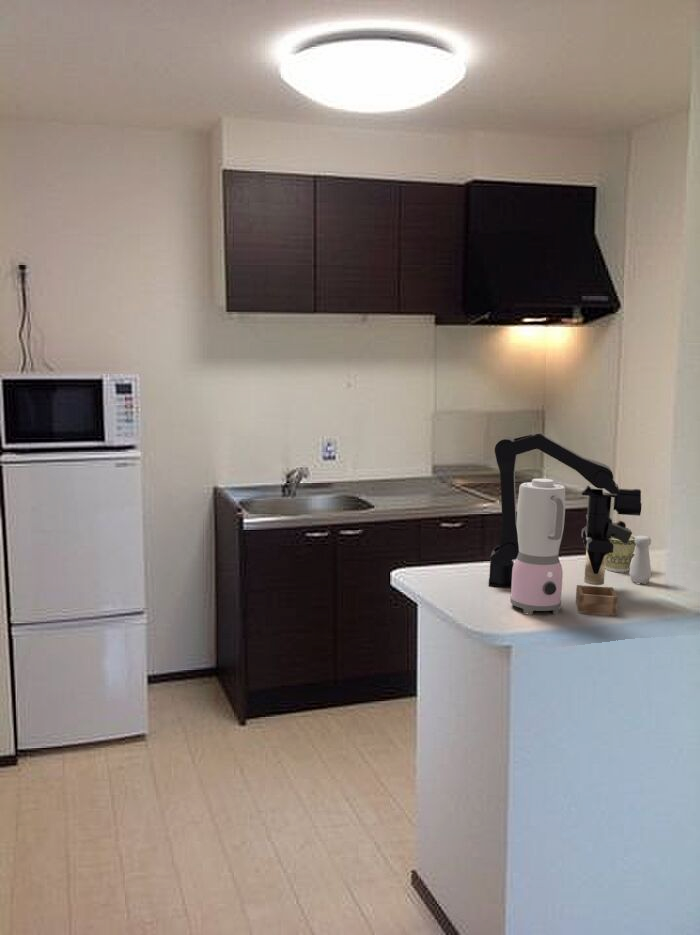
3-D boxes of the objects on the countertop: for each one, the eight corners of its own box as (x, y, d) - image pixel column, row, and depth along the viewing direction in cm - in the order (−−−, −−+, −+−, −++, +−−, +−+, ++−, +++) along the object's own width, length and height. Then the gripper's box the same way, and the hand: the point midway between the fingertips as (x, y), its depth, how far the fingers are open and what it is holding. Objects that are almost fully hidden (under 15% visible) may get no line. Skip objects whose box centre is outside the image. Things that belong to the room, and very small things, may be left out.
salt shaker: (651, 585, 241) (655, 539, 239) (629, 584, 242) (633, 537, 240) (649, 580, 247) (652, 534, 245) (627, 578, 248) (631, 533, 246)
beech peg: (585, 584, 231) (587, 546, 229) (583, 579, 236) (585, 542, 234) (605, 585, 230) (607, 548, 228) (602, 580, 235) (605, 543, 233)
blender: (501, 602, 222) (508, 476, 218) (544, 599, 226) (552, 475, 221) (531, 621, 207) (539, 487, 203) (577, 618, 211) (586, 486, 206)
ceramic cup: (603, 573, 253) (606, 539, 252) (595, 564, 263) (597, 531, 262) (649, 575, 253) (652, 540, 251) (639, 566, 263) (641, 533, 261)
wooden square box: (578, 613, 215) (579, 594, 214) (575, 602, 224) (576, 585, 223) (616, 615, 214) (617, 597, 213) (611, 605, 222) (612, 587, 222)
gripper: (636, 521, 220) (631, 582, 222) (625, 508, 238) (621, 564, 240) (590, 519, 221) (586, 579, 224) (583, 505, 240) (579, 561, 242)
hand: (594, 571), depth 232 cm, fingers closed on beech peg, 5 cm apart
